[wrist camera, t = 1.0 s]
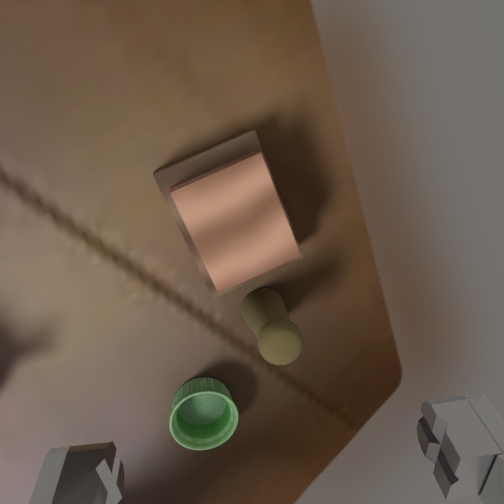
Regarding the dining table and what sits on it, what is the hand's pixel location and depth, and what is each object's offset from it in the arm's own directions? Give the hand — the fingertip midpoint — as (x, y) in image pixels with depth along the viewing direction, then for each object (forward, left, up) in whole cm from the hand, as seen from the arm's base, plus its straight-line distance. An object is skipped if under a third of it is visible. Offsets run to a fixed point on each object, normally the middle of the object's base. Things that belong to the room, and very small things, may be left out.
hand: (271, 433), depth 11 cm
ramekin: (-26, +11, -41) cm, 50 cm away
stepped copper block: (-3, -3, -41) cm, 41 cm away
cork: (-17, -2, -41) cm, 45 cm away
